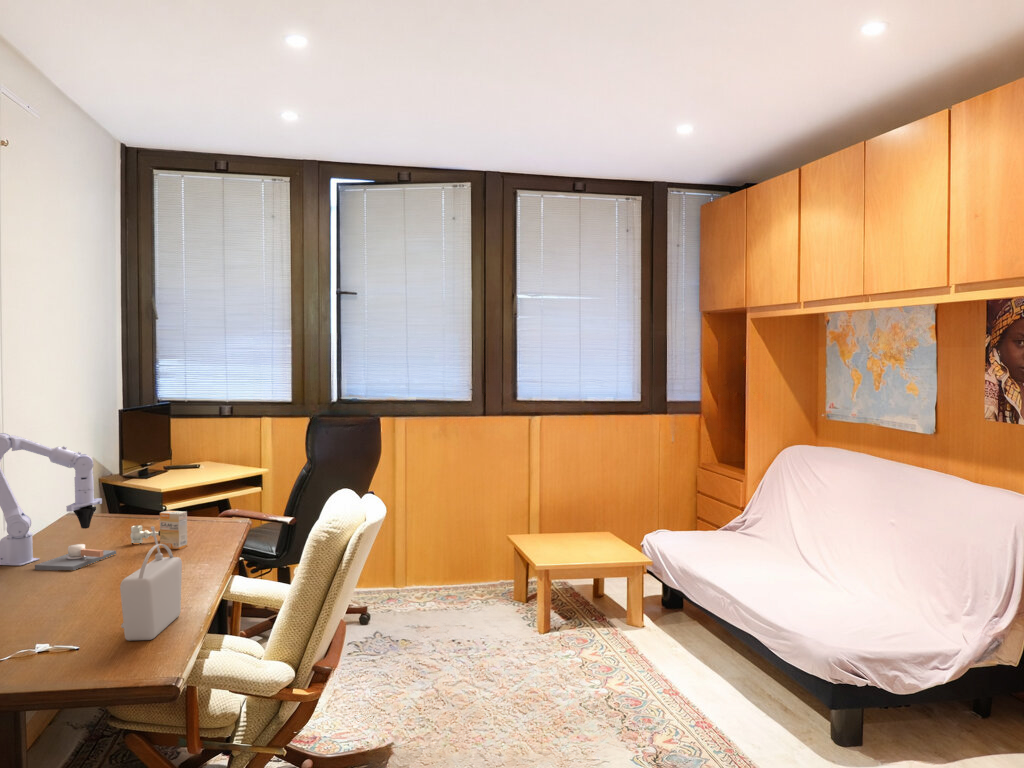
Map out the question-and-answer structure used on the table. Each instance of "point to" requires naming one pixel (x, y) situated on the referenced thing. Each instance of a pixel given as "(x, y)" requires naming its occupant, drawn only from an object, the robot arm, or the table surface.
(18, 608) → the table surface
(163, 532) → the supplement box
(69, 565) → the base plate
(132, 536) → the valve
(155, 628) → the grey handbag
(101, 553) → the handle
